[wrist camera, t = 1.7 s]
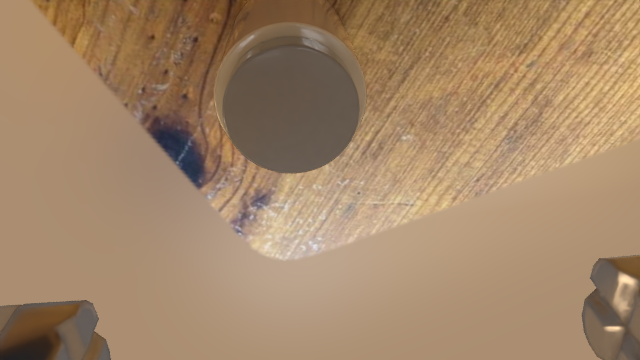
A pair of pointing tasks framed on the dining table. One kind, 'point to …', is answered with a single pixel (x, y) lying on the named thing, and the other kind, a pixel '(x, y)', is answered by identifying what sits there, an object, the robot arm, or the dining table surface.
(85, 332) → the robot arm
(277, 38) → the salt shaker
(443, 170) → the dining table surface
